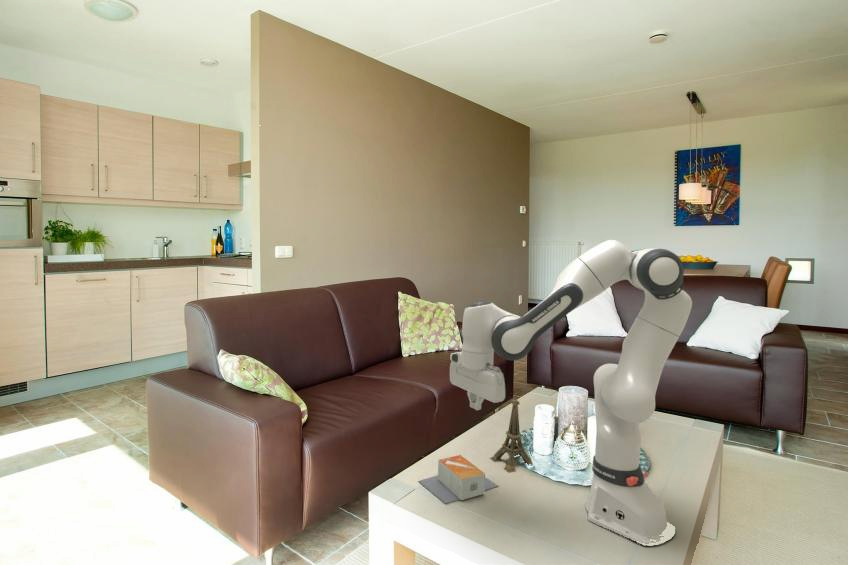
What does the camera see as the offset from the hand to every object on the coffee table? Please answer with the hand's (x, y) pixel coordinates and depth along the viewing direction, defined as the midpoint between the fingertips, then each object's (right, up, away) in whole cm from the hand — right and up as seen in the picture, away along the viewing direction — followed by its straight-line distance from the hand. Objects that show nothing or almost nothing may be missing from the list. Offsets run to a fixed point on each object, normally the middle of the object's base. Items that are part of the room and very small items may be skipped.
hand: (475, 408), depth 136 cm
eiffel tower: (+15, -24, +24) cm, 37 cm away
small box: (0, -22, 0) cm, 22 cm away
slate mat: (-4, -25, +8) cm, 26 cm away
